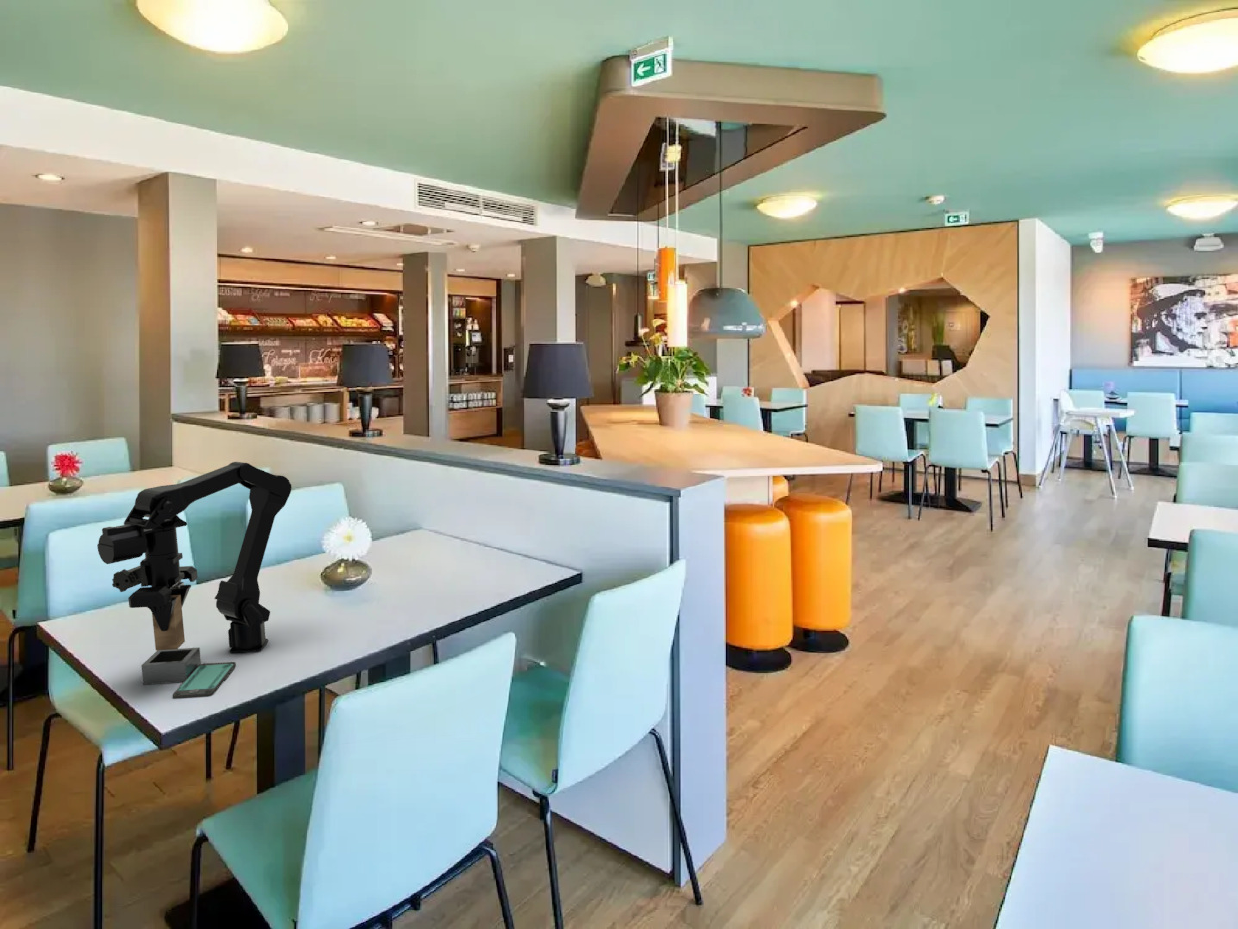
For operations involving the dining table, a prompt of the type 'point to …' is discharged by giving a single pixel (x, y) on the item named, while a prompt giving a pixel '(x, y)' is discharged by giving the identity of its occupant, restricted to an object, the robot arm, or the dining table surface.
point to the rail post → (170, 629)
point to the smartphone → (204, 680)
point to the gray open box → (170, 665)
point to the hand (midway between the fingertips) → (168, 627)
